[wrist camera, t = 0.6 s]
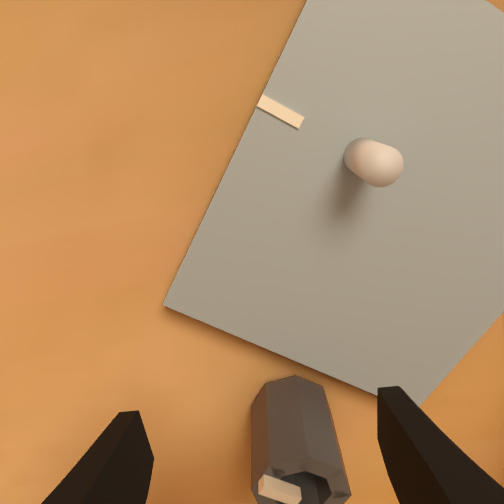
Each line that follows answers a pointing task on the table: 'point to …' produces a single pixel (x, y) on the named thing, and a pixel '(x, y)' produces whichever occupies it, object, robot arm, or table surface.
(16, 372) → the table surface
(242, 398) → the table surface
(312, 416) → the knob
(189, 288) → the grey square plate
